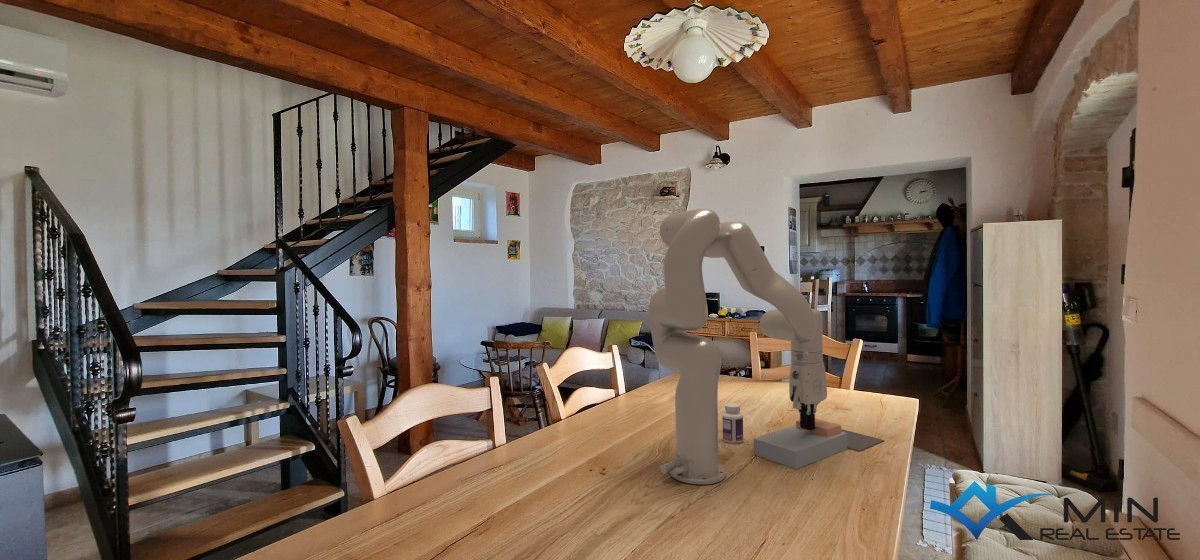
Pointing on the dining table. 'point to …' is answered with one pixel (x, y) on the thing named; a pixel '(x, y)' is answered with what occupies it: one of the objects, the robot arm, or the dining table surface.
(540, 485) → the dining table surface
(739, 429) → the pill bottle
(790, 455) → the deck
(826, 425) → the tile
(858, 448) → the mat
